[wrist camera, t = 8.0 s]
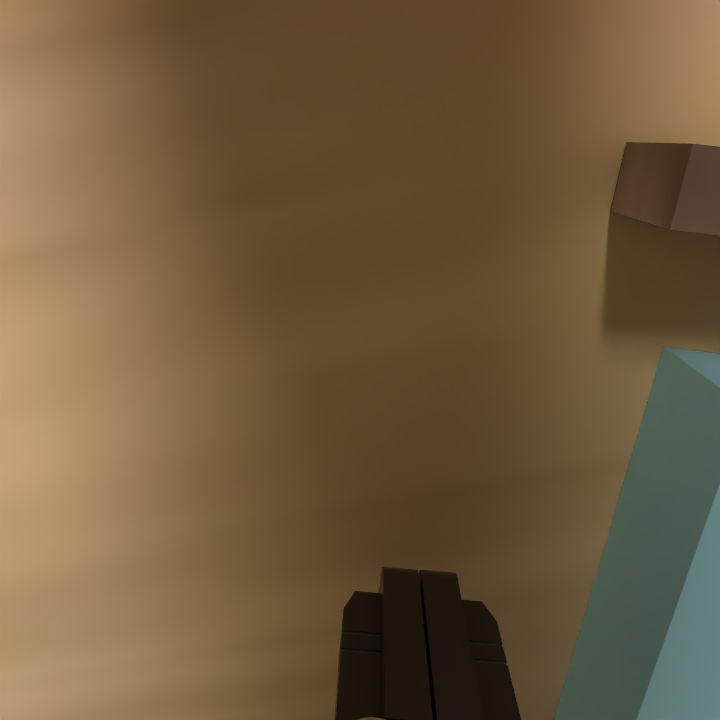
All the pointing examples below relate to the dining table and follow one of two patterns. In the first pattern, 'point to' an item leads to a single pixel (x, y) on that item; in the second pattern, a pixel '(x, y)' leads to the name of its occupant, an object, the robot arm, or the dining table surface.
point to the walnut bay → (671, 186)
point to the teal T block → (659, 564)
